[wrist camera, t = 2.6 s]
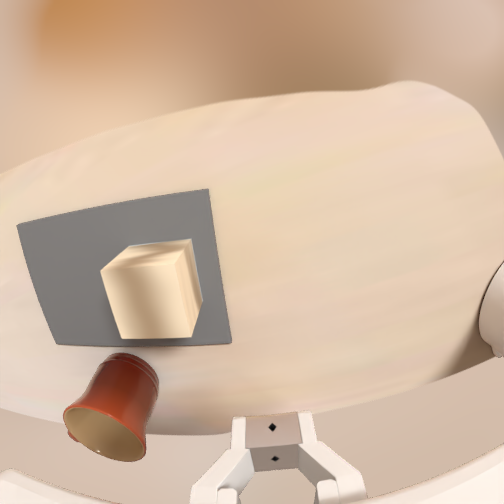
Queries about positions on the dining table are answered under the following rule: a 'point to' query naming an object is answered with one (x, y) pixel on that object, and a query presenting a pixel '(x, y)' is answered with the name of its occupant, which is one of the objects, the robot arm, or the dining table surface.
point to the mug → (115, 408)
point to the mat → (105, 250)
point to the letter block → (154, 290)
